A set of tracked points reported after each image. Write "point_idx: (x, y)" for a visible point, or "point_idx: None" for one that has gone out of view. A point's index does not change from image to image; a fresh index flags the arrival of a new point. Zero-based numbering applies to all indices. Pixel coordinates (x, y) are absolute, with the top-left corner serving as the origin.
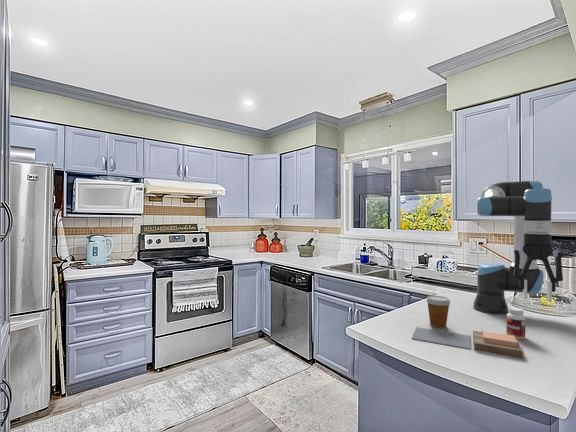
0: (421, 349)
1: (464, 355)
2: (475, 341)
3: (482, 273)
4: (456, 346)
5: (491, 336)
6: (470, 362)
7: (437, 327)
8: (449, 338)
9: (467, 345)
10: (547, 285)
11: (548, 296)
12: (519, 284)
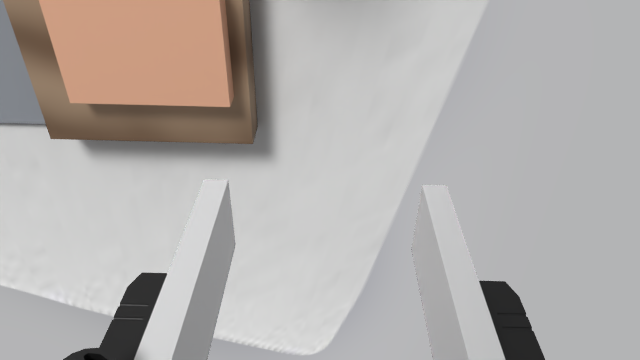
0: None
1: (52, 193)
2: (48, 114)
3: None
4: None
5: (103, 70)
6: (89, 240)
7: None
8: None
9: (25, 94)
10: (452, 337)
11: (421, 273)
12: (116, 313)
